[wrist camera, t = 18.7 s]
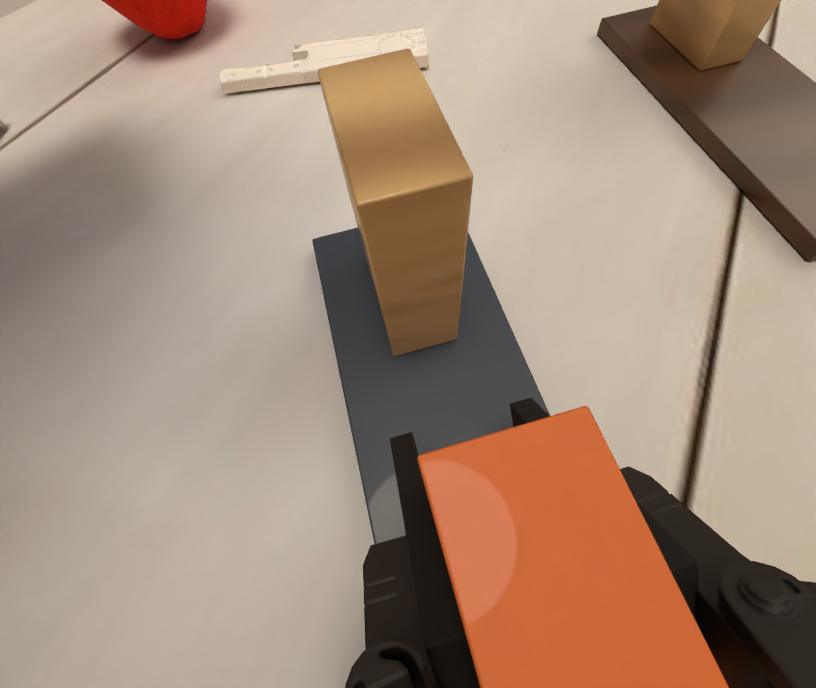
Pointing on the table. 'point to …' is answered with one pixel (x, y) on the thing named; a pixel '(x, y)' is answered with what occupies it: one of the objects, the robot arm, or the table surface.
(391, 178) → the letter i
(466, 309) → the word board
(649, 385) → the table surface
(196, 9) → the apple
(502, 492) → the orange rectangular block
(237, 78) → the white plastic strip tool
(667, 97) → the word board
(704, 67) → the tan rectangular block
